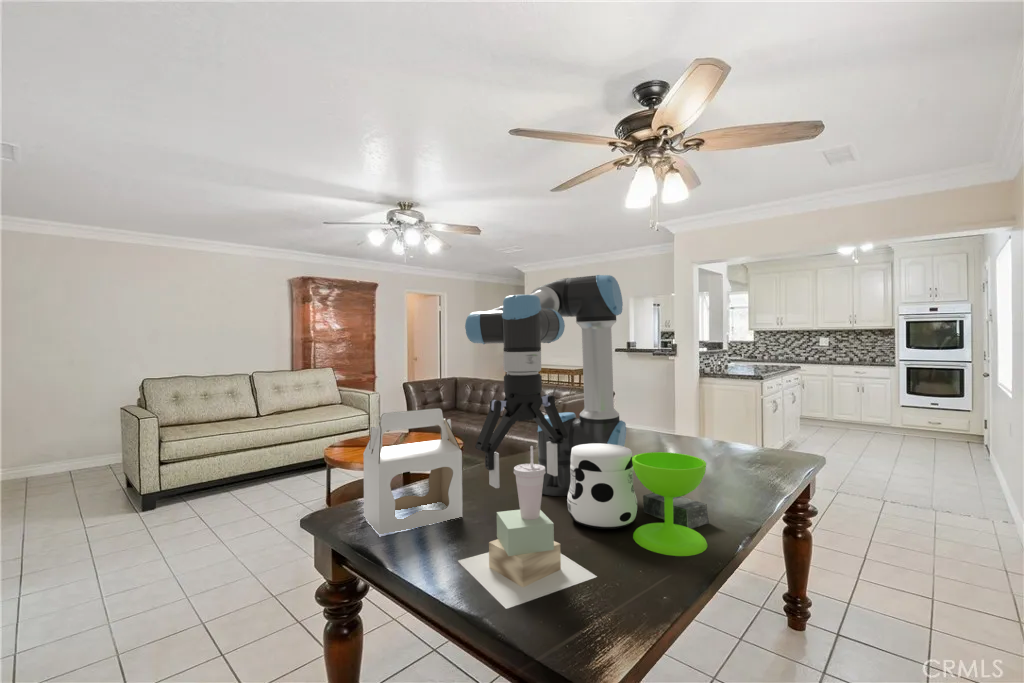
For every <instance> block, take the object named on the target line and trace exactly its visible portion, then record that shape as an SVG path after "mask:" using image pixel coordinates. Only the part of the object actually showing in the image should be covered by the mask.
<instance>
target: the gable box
mask: <svg viewBox="0 0 1024 683" xmlns="http://www.w3.org/2000/svg"><path fill="white" fill-rule="evenodd" d="M379 421H380V422H379V424H378V425H376V426H371V427H370V434H369V441H368V443H367V445H366V446H365V449H364V451H363V518H364V517H365V518H366V519H367V520H368V521H369V523H370V524H371V525H372V526H373V528H374V529H375V530H376V531H377V532H378V533H379V534H384V533H389V532H395V531H401V530H406V529H412V528H416V527H420V526H425V525H429V524H433V523H437V522H442V523H444V522H443V521H446V522H448V521H447V520H450V519H455V518H459V517H462V518H463V451H462V449H461V446H460V444H459V442H458V440H457V438H456V436H455V435H454V432H453V430H452V421H451V418H447V419H446V418H444V414H443V410H442V409H441V408H439V407H438V408H436V407H435V408H426V409H417V410H415V409H414V410H404V411H392V412H383V413H382V414H381V416H380V417H379ZM438 426H439V428H440V439H434V440H427V441H420V442H419V441H418V442H412V443H402V444H397V445H396V444H395V445H389V446H383V437H384V434H385V433H387V432H388V433H389V432H392V431H398V430H399V431H400V430H408V429H409V430H411V429H418V428H427V427H428V428H429V427H438ZM408 472H430V473H429V475H428V492H427V493H426V494H425V495H413V494H412V495H403V496H400V497H398V498H396V499H395V497H394V495H393V492H392V489H391V483H392V479H394V478H395V477H396V476H398V475H400V474H403V473H408ZM437 502H442V503H444V504H445V505H446V506H447V507H446V508H445V509H442V510H422V511H419V512H416V513H414V514H412V515H410V516H408V517H406V518H404V519H397V518H396V517H395V510H401V509H408V508H412V507H417V506H421V505H427V504H432V503H437ZM459 519H460V518H459ZM455 520H456V519H455Z"/></svg>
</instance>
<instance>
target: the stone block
mask: <svg viewBox="0 0 1024 683" xmlns="http://www.w3.org/2000/svg"><path fill="white" fill-rule="evenodd" d="M642 504H643V505H642V507H643V508H642V510H643V512H644V513H646V514H648V515H650V516H653V517H655V518H658V519H662V520H663V521H665V513H664V496H661V495H658V494H655V493H653V492H652V493H648V494H643V496H642ZM708 512H709V511H708V504H707V503H704V502H701V501H698V500H694V499H690V498H687V497H684V496H680V497H673V524H677V525H681V526H685V527H688V528H690V529H693V530H694V529H696V528H699V527H702V526H704V525H709V523H710V521H709V520H710V519H709V514H708Z"/></svg>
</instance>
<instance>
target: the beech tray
mask: <svg viewBox="0 0 1024 683" xmlns="http://www.w3.org/2000/svg"><path fill="white" fill-rule="evenodd" d="M488 552H489V568H491V569H493V570H494V571H496V572H498V573H499V574H501V575H503V576H504V577H506V578H508V579H509V580H511V581H513V582H514V583H516V584H518V585H520V586H521V587H525V586H527V585H529V584H531V583H533V582H535V581H537V580H540V579H542V578H544V577H546V576H548V575H550V574H552V573H554V572H556V571H558V570H560V569H561V554H562V552H561V543H559V542H557V541H555V540H554V550H549V551H542V552H535V553H528V554H520V555H513V556H508V555H507V553H506V551H505V549H504V548H503V546H502V544H501V543H500V541H499V539H498V538H497V539H494V540H491V541H489V542H488Z"/></svg>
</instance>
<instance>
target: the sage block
mask: <svg viewBox="0 0 1024 683" xmlns="http://www.w3.org/2000/svg"><path fill="white" fill-rule="evenodd" d="M554 526H555V523H554V522H553V521H552V520H551V519H550V518H549V517H548V516H547V515H546V514H545V513H544V512H543V511H542V510H541V509H540V516H539V518H537V519H533V520H527V519H523V518H522V517H521V513H520V509H514V510H513V509H512V510H504V511H496V537H497V539H499V541H500V543H501V544H502V546H503V548H504V549H505V551H506V553H507V555H508V556H513V555H520V554H528V553H535V552H542V551H549V550H554V541H555V535H554V534H555V531H554V530H555V529H554Z"/></svg>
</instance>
